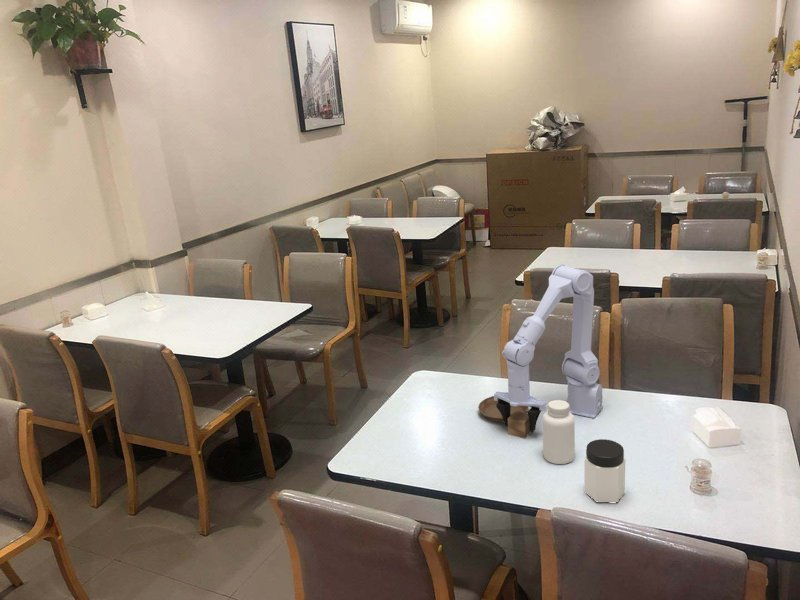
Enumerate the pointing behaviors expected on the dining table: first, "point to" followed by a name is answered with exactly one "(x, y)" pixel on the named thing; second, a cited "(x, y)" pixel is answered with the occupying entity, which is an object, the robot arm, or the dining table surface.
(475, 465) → the dining table surface
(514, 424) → the cube
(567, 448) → the pill bottle
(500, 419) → the saucer
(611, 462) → the jar
